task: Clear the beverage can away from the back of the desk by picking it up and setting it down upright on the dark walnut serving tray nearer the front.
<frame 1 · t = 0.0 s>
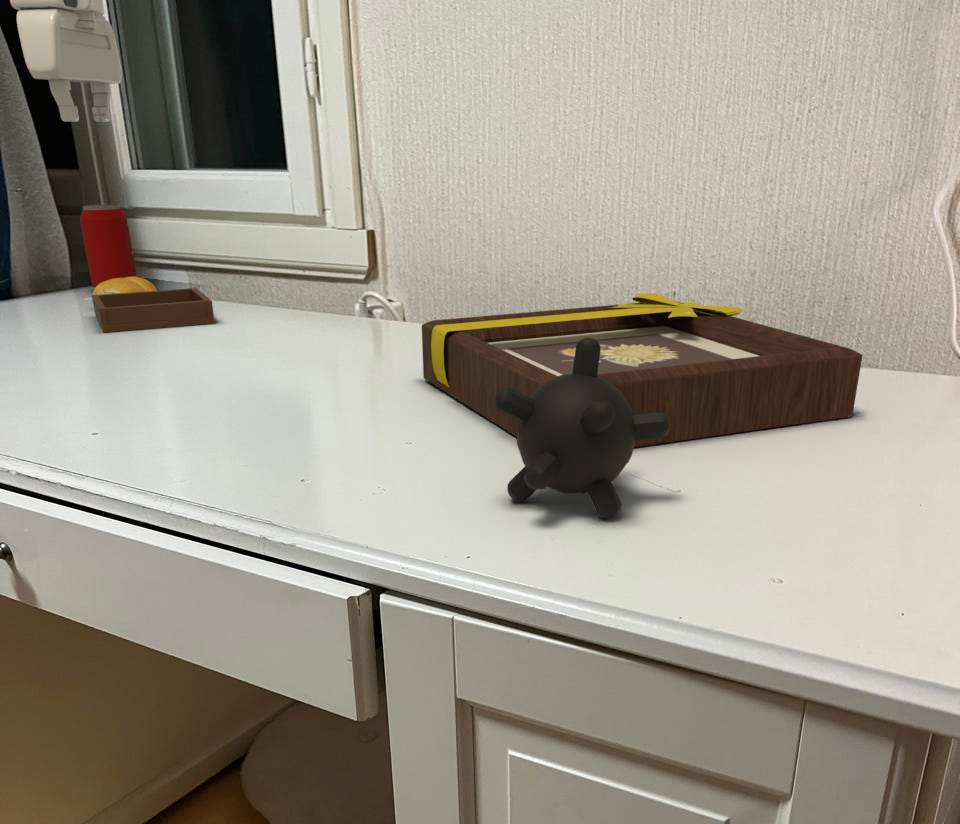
hand: (87, 121, 130), 23 cm above the table, tool pointing down, fingers open, 8 cm apart
brown gift box: (625, 399, 89), on the table
beverage can: (116, 290, 154), on the table
naval mine: (581, 505, 65), on the table
bread roll: (127, 307, 139), on the table
serving tray: (154, 320, 129), on the table
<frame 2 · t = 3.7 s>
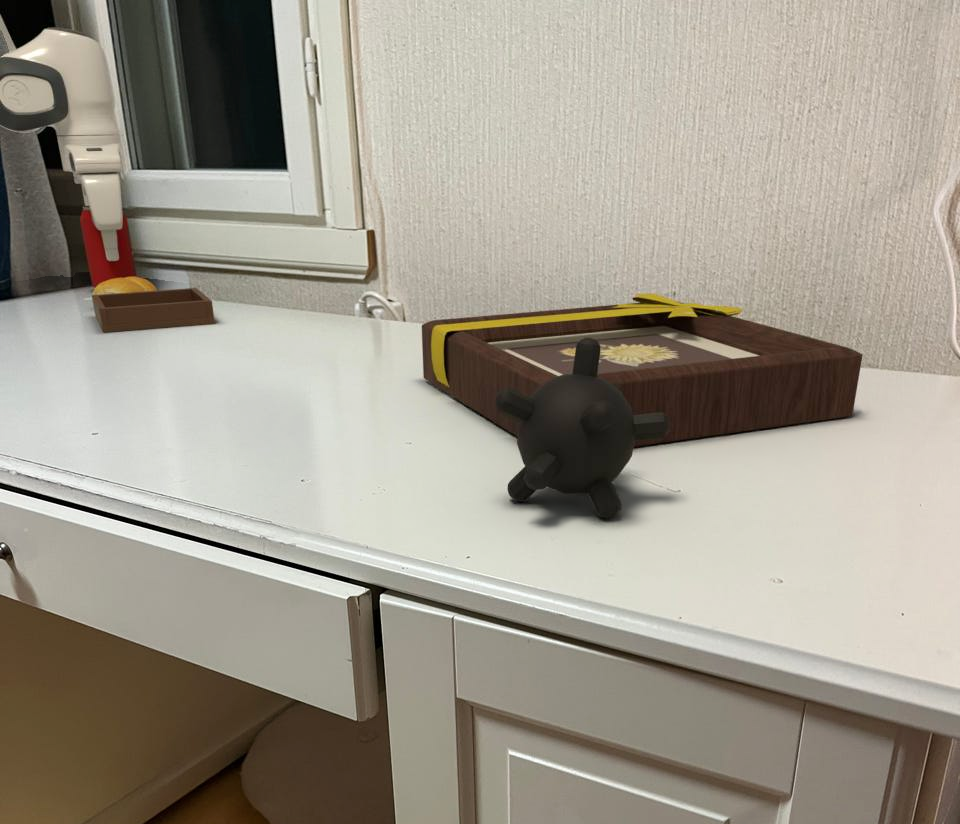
hand: (110, 257, 152), 5 cm above the table, tool pointing down, fingers closed on beverage can, 7 cm apart
beverage can: (116, 290, 154), on the table, touching gripper
everything else where it was.
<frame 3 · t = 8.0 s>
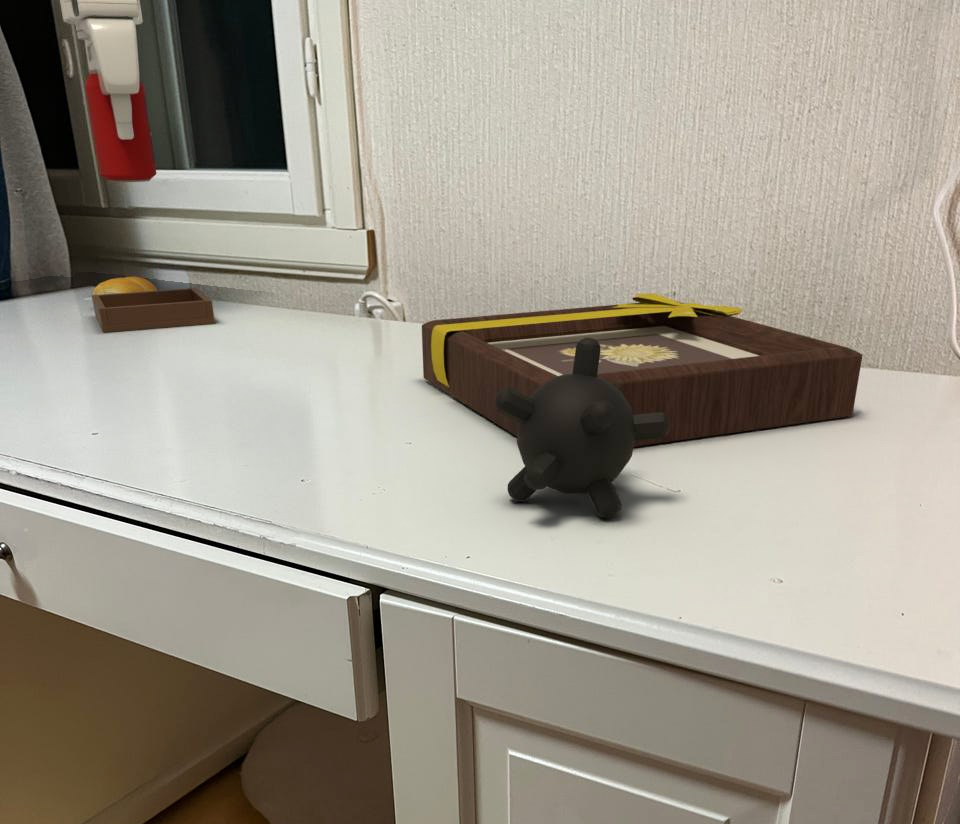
hand: (122, 139, 121), 21 cm above the table, tool pointing down, fingers closed on beverage can, 7 cm apart
beverage can: (130, 183, 123), point 16 cm above the table, touching gripper
everything else where it was.
when the fingers open (5 cm above the table, at t = 12.2 s): beverage can stays where it is, resting on serving tray.
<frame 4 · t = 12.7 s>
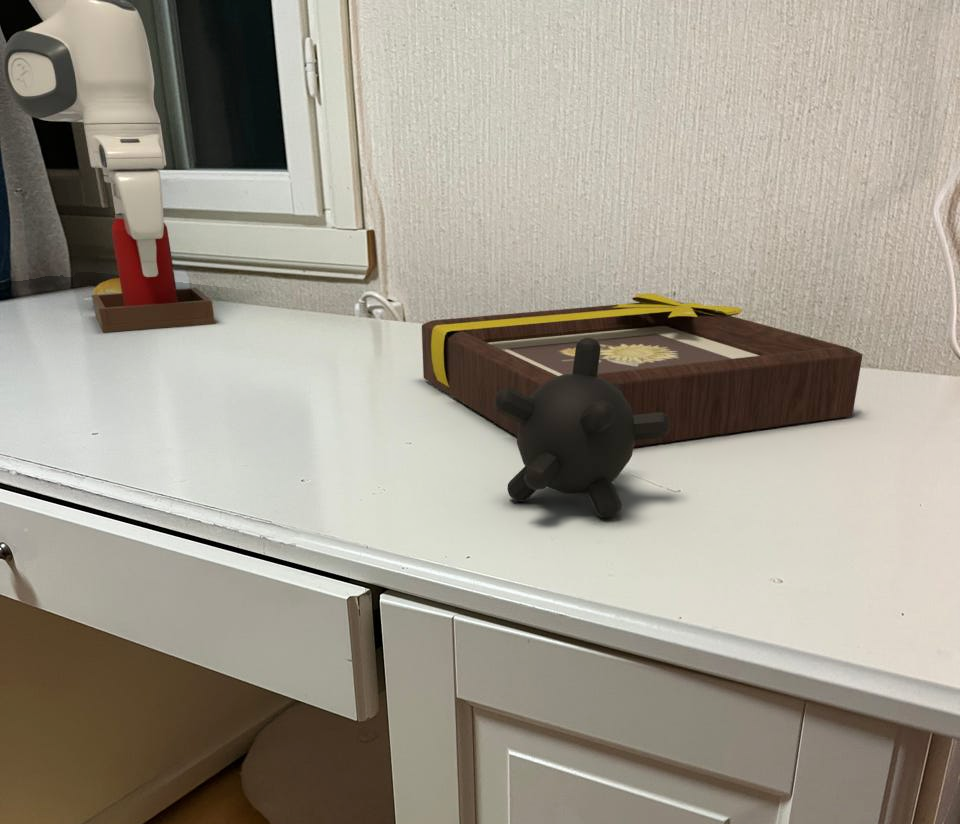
hand: (146, 271, 126), 6 cm above the table, tool pointing down, fingers open, 8 cm apart
beverage can: (153, 315, 128), point 1 cm above the table, touching serving tray
everything else where it was.
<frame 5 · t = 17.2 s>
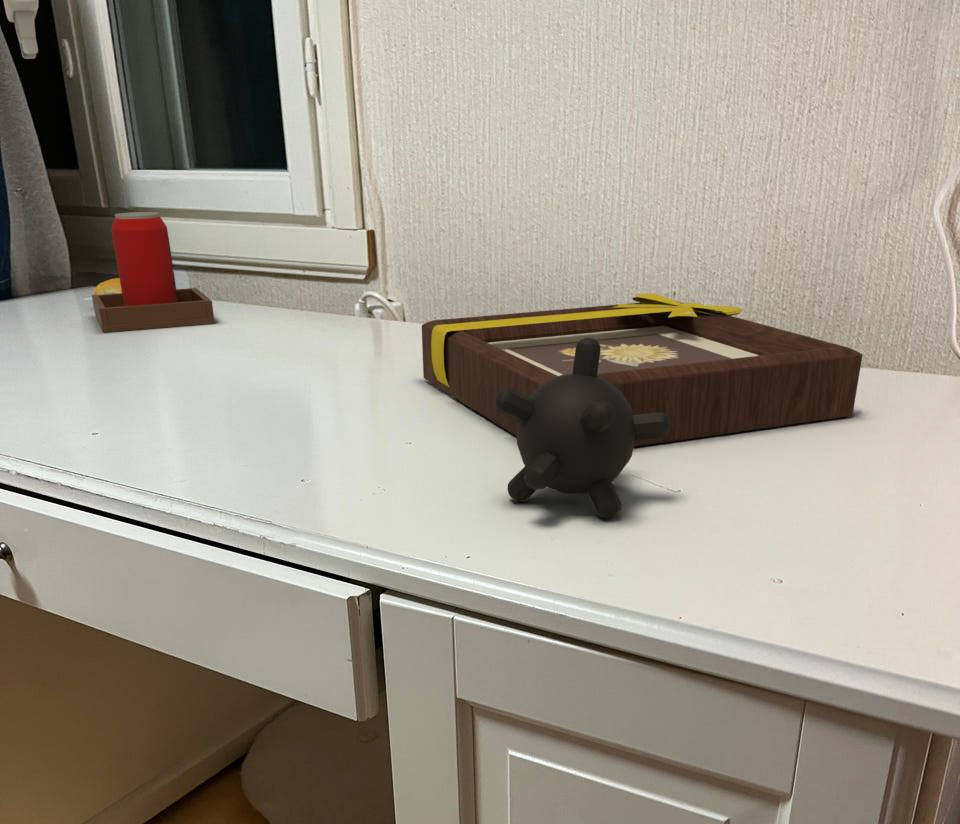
hand: (30, 56, 134), 31 cm above the table, tool pointing down, fingers open, 8 cm apart
nothing on the table moved.
at the end: beverage can inside the target area in the serving tray (0.1 cm from its centre), point 0.6 cm above the serving tray's base; beverage can tilted 0°; the gripper is holding nothing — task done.
